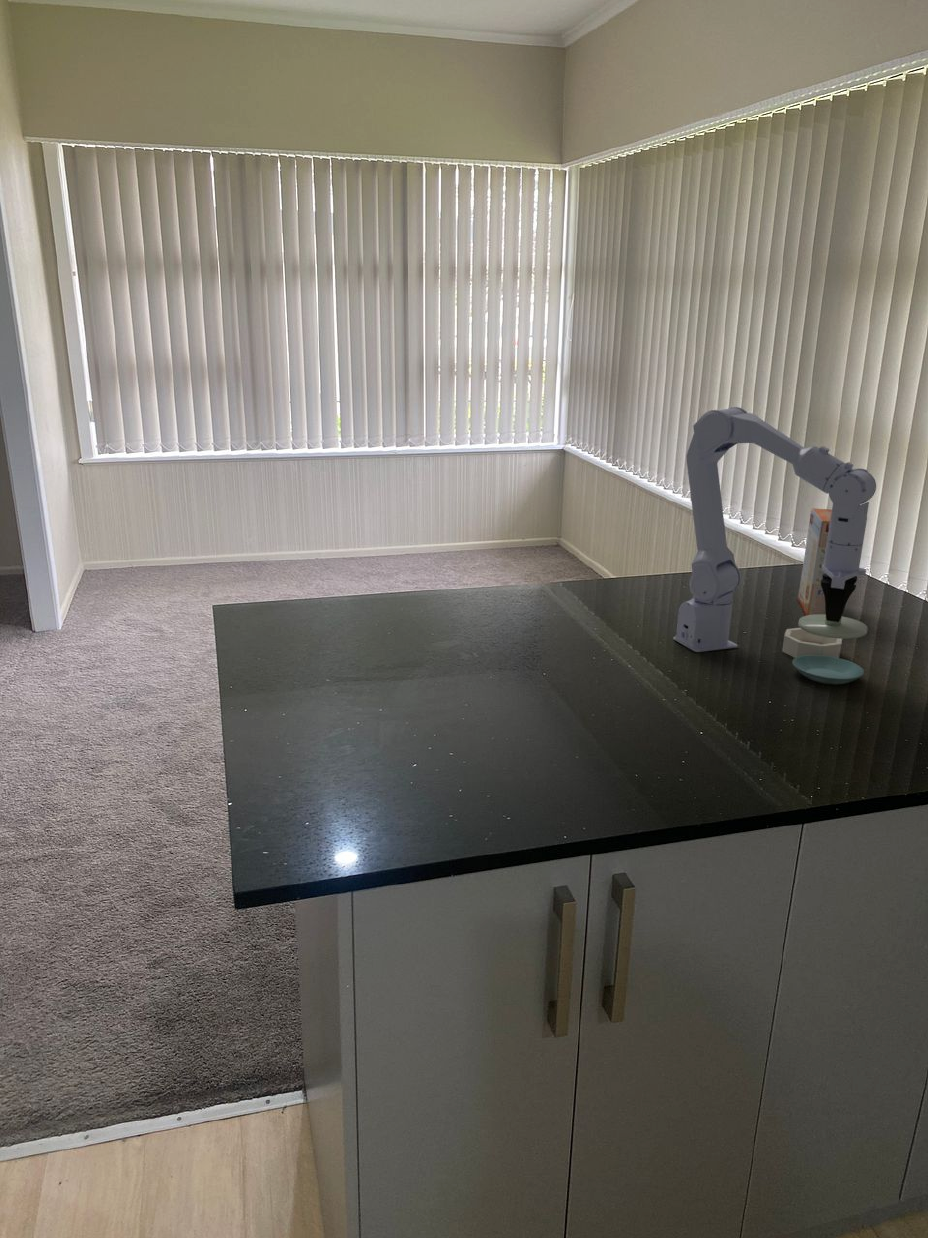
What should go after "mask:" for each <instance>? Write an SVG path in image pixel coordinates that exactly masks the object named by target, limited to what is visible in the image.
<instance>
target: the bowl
mask: <svg viewBox="0 0 928 1238" xmlns="http://www.w3.org/2000/svg"><path fill="white" fill-rule="evenodd" d="M842 641H843V639H839V638H829V637H823V636H818V635H814V634H811V633H808V632H806V631H804V630H802V629H801V628H800V627H793V628H786V630H785V632H784V636H783V642H782V650H781V651H782V653H784V654H787V655H789V656H790V657H792V658H793V659H795V658H797V657H799V656H805V655H823V656H830V657H835V658H840V654H841V649H842V644H843V643H842Z"/></svg>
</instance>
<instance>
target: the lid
mask: <svg viewBox="0 0 928 1238" xmlns="http://www.w3.org/2000/svg"><path fill="white" fill-rule="evenodd" d="M797 626H798V628H801V629H802V630H804V631H806V632H808V633H811V634H814V635H818V636H823V637H829V638H839V639H842V640H843V639H844V640H845V639H846V640H847V639H850V640H851V639H858V638H862V637H864V636H865V635H867V634H868V626H867V625H866V624H865V623H863V622H862V621H860V620H857V619H855V618H850V617H847V616H843V615H842V617H841V619H840V621H839V622H834V621H827V620H826V614H815V615H807V616H806V615H803V616H801V617H800V618H799V620H798V625H797Z"/></svg>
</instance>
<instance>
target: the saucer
mask: <svg viewBox="0 0 928 1238" xmlns="http://www.w3.org/2000/svg"><path fill="white" fill-rule="evenodd" d="M792 665H793V666H794V668H795V669H796V670H797V671H798V672H799V673H800V674H801V675H803V676H804V677H806V678H807V679H809V680H811V681H813V682H816V683H819V684H820V683H821V684H824V685H831V684H832V686H835V685H836V686H837V685H838V684H839V685H845V684H848V683H852V682H853V681H856V680H858V679H859V678H861V677H862V676H863V675H864V674H865V670H864V668H863V667H861V666H860V665H858V664H856V663H855V662H852V661H851V660H847V659H843V658H840V657H839V658H835V657H830V656H823V655H805V656H799V657H797V658H793V659H792Z"/></svg>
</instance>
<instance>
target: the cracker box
mask: <svg viewBox="0 0 928 1238" xmlns="http://www.w3.org/2000/svg"><path fill="white" fill-rule="evenodd" d="M831 513H832V509H831V508H811V510H810V515H809V517H810V518H809V523H808V524H809V525H808V529H807V536H806V537H807V538H806V543H805V550H804V556H803V562H802V563H803V565H802V569H801V574H800V575H801V576H800V583H799V589H798V595H797V600H798V601H799V603H800V605H801V608H802V610H803V611H804V613H805V616H807V615H815V614H826V611H825V597H824V592H823V589H822V587H821V579H823V578H822V576H823V574H826V573H825V572H823V571H822V565H823V564H824V558H825V551H826V544H827V538H828V531H829V524H830V517H831Z"/></svg>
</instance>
